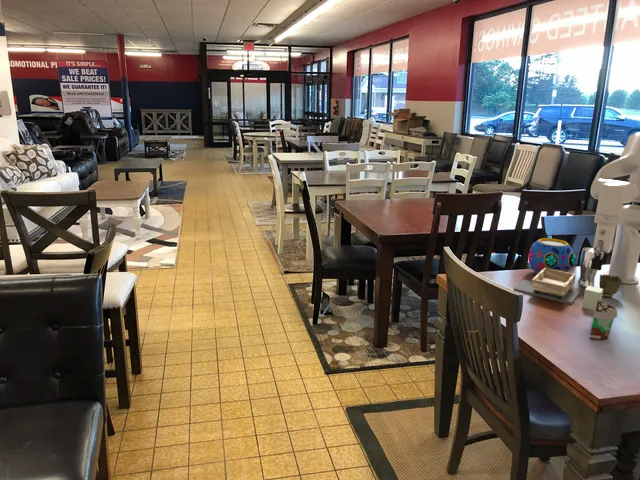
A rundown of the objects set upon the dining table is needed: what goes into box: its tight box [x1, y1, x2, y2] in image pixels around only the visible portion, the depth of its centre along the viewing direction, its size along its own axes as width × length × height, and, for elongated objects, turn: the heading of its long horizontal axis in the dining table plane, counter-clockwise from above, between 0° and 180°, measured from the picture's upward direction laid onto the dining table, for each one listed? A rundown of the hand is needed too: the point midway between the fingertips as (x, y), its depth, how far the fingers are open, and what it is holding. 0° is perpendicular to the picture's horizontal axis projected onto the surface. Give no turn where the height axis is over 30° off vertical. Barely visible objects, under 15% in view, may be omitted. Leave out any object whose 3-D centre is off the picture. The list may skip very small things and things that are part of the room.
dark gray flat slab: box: [513, 279, 580, 306], centre depth 197 cm, size 13×21×1 cm, turn 53°
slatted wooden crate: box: [531, 268, 577, 299], centre depth 195 cm, size 18×12×6 cm, turn 143°
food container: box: [589, 299, 618, 342], centre depth 161 cm, size 12×6×10 cm, turn 148°
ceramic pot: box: [527, 237, 577, 275], centre depth 213 cm, size 18×18×15 cm
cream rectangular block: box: [581, 286, 603, 311], centre depth 183 cm, size 5×5×7 cm
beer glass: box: [577, 247, 598, 289], centre depth 203 cm, size 7×7×15 cm
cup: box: [598, 274, 622, 299], centre depth 193 cm, size 8×7×8 cm
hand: (598, 266), depth 180 cm, fingers open, 9 cm apart
